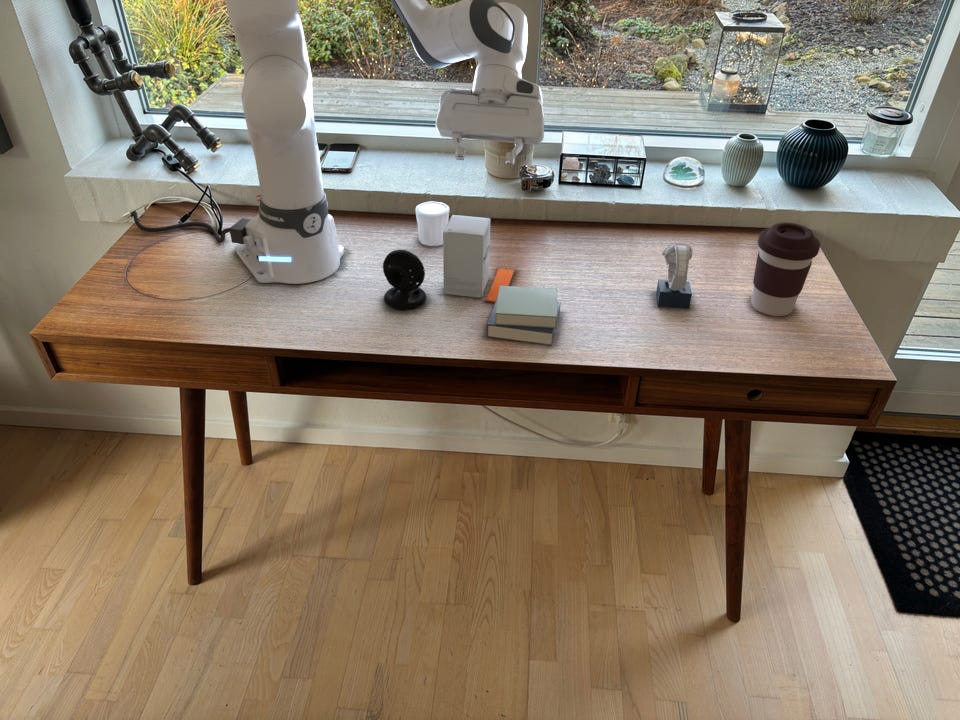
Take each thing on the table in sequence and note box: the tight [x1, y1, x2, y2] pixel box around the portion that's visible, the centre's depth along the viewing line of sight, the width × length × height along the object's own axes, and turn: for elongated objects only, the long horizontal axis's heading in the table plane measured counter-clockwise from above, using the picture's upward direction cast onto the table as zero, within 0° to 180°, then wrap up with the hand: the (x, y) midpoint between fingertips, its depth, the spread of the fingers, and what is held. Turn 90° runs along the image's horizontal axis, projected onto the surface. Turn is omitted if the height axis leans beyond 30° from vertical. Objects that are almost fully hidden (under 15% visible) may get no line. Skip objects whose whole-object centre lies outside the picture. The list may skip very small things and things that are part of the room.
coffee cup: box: [750, 221, 821, 317], centre depth 136 cm, size 10×10×15 cm
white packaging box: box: [442, 214, 492, 299], centre depth 141 cm, size 7×7×13 cm
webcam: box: [382, 249, 427, 312], centre depth 138 cm, size 8×8×10 cm
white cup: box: [415, 201, 450, 247], centre depth 158 cm, size 7×7×7 cm
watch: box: [655, 242, 694, 310], centre depth 138 cm, size 6×8×11 cm
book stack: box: [486, 285, 561, 346], centre depth 133 cm, size 11×10×5 cm
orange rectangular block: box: [485, 268, 515, 304], centre depth 145 cm, size 12×3×1 cm, turn 168°
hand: (484, 161), depth 145 cm, fingers open, 8 cm apart
